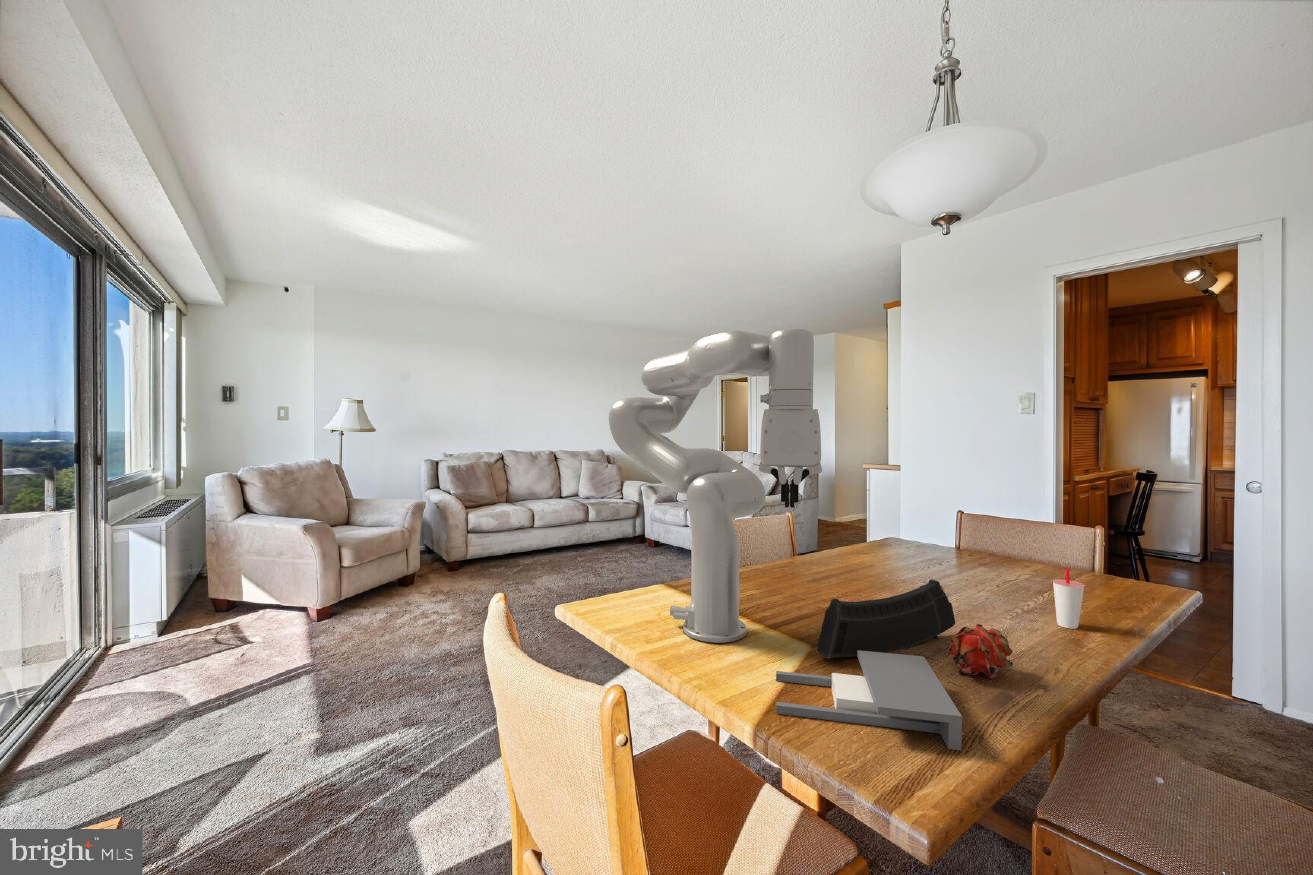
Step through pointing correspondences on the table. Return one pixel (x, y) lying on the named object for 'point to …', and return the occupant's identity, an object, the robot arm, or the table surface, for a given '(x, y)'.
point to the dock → (890, 697)
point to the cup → (1068, 601)
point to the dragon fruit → (980, 651)
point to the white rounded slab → (852, 693)
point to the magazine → (885, 622)
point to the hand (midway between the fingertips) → (789, 506)
